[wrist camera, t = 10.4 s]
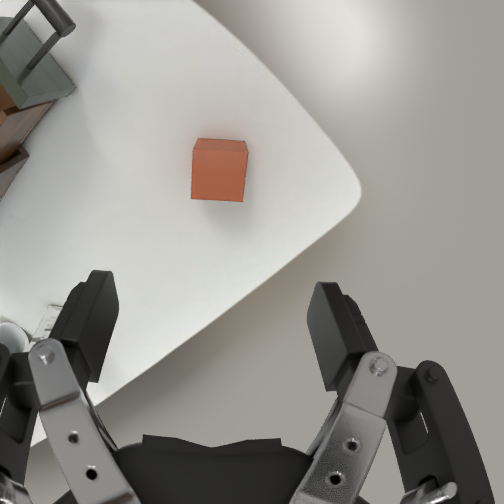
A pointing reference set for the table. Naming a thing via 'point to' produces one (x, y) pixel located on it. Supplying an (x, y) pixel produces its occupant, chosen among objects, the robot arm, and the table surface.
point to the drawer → (29, 74)
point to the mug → (13, 337)
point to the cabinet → (11, 169)
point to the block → (219, 170)
